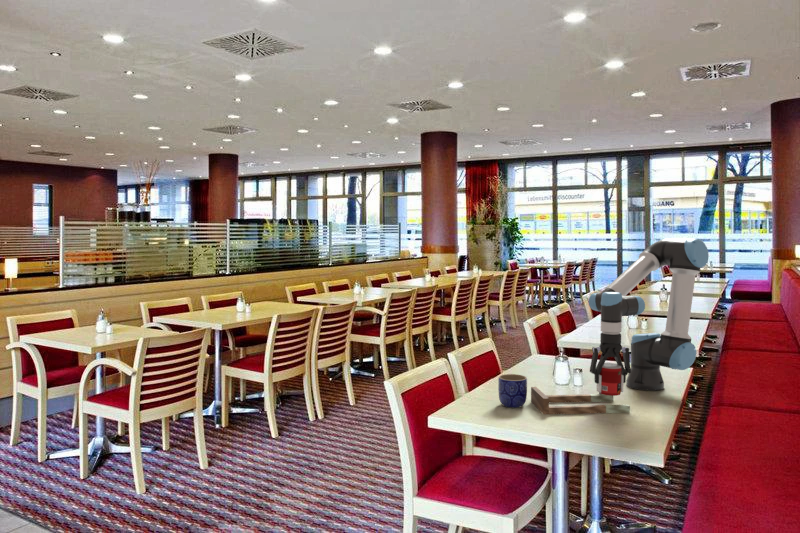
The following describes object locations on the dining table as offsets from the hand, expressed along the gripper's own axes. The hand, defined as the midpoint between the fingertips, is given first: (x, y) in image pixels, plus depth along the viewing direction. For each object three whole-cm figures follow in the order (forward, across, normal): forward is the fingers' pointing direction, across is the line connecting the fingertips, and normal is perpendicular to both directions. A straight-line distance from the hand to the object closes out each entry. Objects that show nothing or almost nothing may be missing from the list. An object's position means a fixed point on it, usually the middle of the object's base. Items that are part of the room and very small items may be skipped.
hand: (609, 391), depth 233 cm
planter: (+6, +37, -4) cm, 38 cm away
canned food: (+1, 0, 0) cm, 1 cm away
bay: (+6, +12, 0) cm, 13 cm away
